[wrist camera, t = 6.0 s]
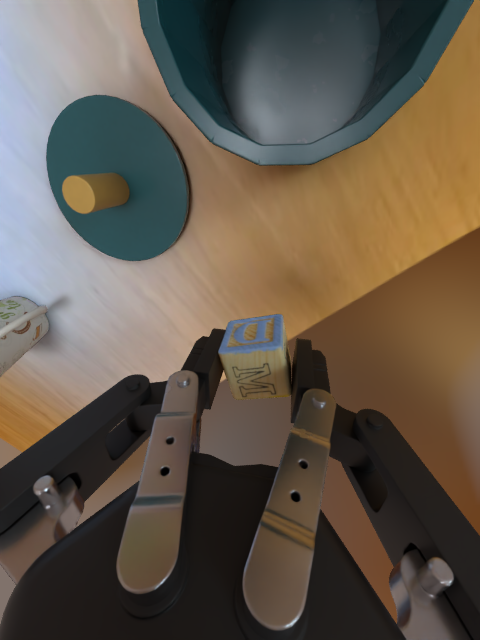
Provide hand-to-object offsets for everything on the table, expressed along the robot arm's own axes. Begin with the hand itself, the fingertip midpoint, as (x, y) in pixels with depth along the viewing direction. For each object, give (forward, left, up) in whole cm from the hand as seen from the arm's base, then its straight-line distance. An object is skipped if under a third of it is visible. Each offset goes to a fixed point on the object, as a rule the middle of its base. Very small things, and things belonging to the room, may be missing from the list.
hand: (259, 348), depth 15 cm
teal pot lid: (-1, -16, -13) cm, 21 cm away
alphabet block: (0, 0, -1) cm, 1 cm away
